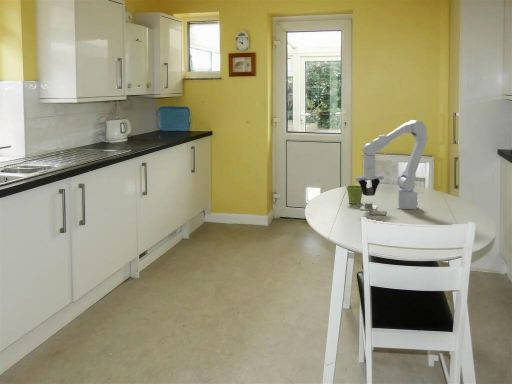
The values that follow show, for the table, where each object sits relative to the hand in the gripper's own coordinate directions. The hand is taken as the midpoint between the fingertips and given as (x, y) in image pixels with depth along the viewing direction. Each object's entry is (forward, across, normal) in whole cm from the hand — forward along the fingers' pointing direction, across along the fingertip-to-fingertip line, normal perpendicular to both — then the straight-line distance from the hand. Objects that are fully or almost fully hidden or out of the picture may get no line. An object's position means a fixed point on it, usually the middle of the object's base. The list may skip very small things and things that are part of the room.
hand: (368, 194), depth 281 cm
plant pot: (+8, 0, -15) cm, 17 cm away
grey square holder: (+7, 0, 0) cm, 7 cm away
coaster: (+7, +1, +11) cm, 13 cm away
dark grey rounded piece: (0, 0, 0) cm, 0 cm away
